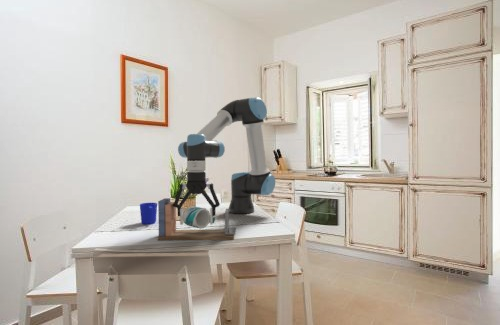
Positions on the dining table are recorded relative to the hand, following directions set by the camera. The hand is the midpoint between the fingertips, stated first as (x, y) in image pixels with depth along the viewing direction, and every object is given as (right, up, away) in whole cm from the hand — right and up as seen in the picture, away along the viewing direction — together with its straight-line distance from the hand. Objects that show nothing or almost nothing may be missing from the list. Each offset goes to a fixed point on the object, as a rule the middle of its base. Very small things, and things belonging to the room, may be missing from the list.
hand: (196, 223), depth 120 cm
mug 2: (-2, +2, +4) cm, 5 cm away
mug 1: (-28, -5, +23) cm, 36 cm away
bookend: (+14, -3, 0) cm, 14 cm away
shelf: (+1, -5, 0) cm, 5 cm away
